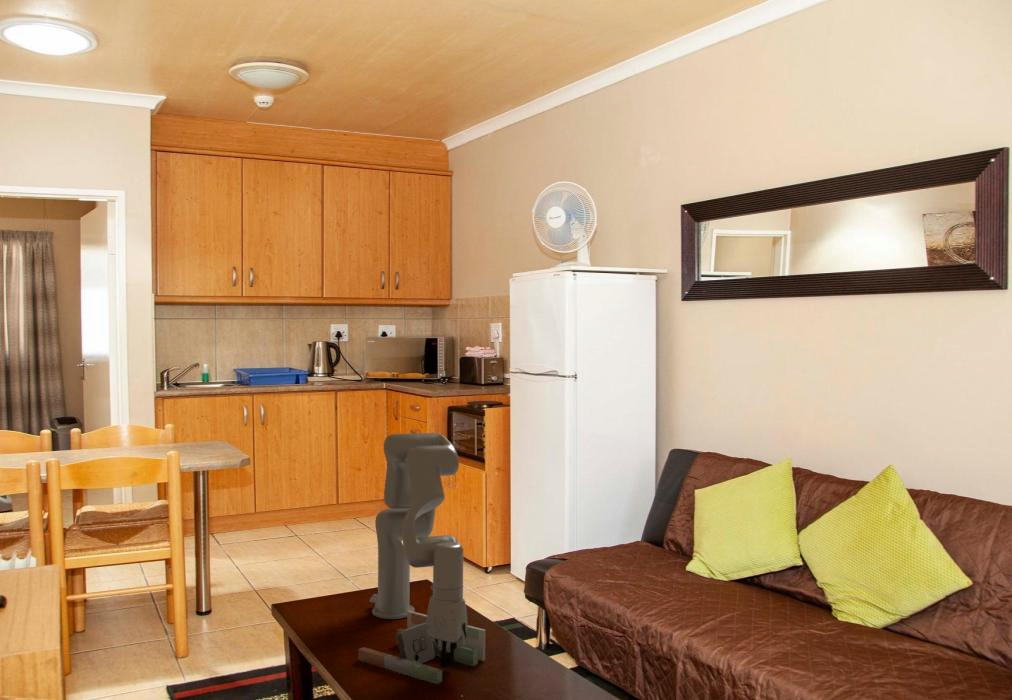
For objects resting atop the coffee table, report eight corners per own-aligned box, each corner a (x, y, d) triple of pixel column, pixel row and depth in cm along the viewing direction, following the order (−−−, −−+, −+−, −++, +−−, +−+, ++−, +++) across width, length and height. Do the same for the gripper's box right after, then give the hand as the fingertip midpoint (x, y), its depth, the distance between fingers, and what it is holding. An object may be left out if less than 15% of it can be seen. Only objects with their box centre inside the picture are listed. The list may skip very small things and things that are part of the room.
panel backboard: (406, 640, 238) (407, 611, 238) (409, 639, 238) (409, 610, 238) (482, 661, 223) (483, 630, 223) (485, 660, 224) (485, 629, 224)
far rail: (396, 644, 234) (396, 630, 234) (401, 642, 236) (401, 628, 236) (473, 666, 219) (473, 650, 219) (477, 664, 221) (477, 648, 221)
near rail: (358, 660, 222) (358, 649, 222) (363, 658, 224) (363, 647, 224) (436, 684, 208) (436, 672, 207) (441, 682, 209) (442, 669, 209)
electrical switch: (410, 669, 217) (408, 632, 218) (395, 666, 220) (393, 629, 221) (435, 659, 224) (433, 623, 225) (421, 656, 228) (419, 620, 228)
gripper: (415, 591, 217) (414, 663, 217) (462, 602, 209) (461, 677, 209) (434, 584, 223) (433, 655, 224) (480, 594, 215) (480, 668, 215)
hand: (447, 665), depth 216 cm, fingers closed
